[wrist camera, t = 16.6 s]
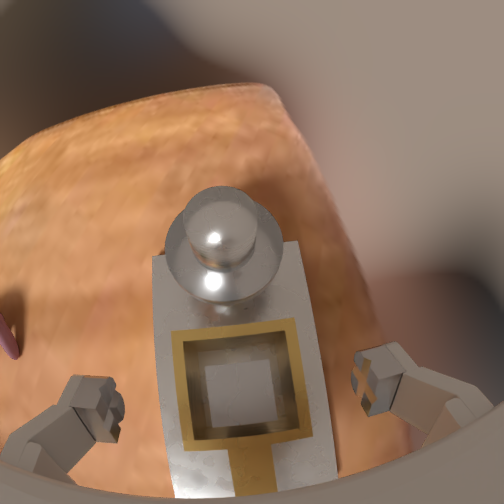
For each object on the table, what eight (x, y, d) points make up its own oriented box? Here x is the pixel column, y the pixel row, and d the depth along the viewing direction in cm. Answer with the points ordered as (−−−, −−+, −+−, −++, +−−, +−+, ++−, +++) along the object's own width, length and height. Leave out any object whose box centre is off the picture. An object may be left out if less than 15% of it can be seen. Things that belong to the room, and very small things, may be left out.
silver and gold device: (334, 479, 21) (388, 524, 10) (179, 498, 20) (142, 555, 9) (293, 233, 32) (315, 157, 21) (155, 248, 31) (117, 177, 20)
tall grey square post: (264, 406, 23) (277, 420, 14) (224, 411, 23) (212, 427, 14) (259, 368, 25) (268, 359, 16) (219, 372, 24) (204, 366, 15)
